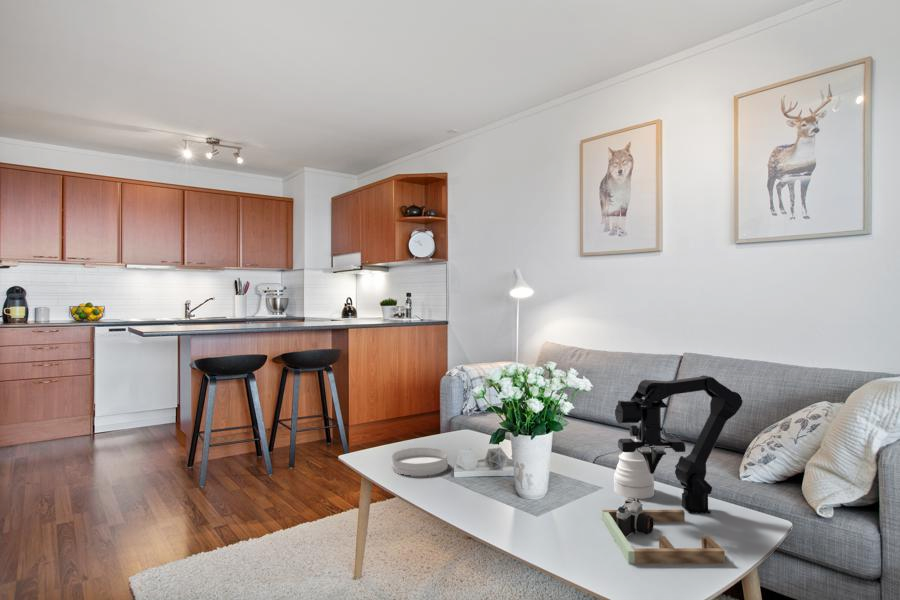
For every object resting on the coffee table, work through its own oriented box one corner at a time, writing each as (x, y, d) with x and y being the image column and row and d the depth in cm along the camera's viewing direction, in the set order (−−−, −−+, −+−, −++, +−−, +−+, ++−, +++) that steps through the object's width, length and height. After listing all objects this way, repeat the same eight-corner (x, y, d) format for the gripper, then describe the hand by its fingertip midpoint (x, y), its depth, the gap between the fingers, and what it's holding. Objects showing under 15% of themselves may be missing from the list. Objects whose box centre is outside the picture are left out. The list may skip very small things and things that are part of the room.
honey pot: (659, 490, 184) (659, 437, 184) (646, 501, 174) (645, 445, 174) (622, 482, 192) (622, 431, 192) (607, 492, 182) (607, 439, 182)
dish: (382, 474, 206) (381, 461, 206) (404, 457, 227) (404, 445, 227) (437, 479, 200) (437, 465, 200) (454, 461, 221) (454, 449, 221)
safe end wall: (607, 520, 160) (607, 510, 160) (634, 563, 134) (634, 551, 134) (602, 520, 160) (602, 510, 160) (628, 563, 134) (628, 551, 134)
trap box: (682, 519, 160) (682, 509, 160) (724, 563, 134) (724, 551, 134) (602, 520, 160) (602, 510, 160) (628, 563, 134) (628, 551, 134)
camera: (642, 544, 144) (643, 510, 145) (613, 536, 149) (614, 503, 150) (657, 531, 155) (658, 499, 155) (630, 524, 159) (631, 493, 160)
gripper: (671, 416, 173) (672, 464, 173) (612, 416, 173) (613, 465, 174) (685, 424, 162) (686, 476, 162) (622, 424, 162) (623, 476, 162)
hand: (651, 473), depth 165 cm, fingers closed
